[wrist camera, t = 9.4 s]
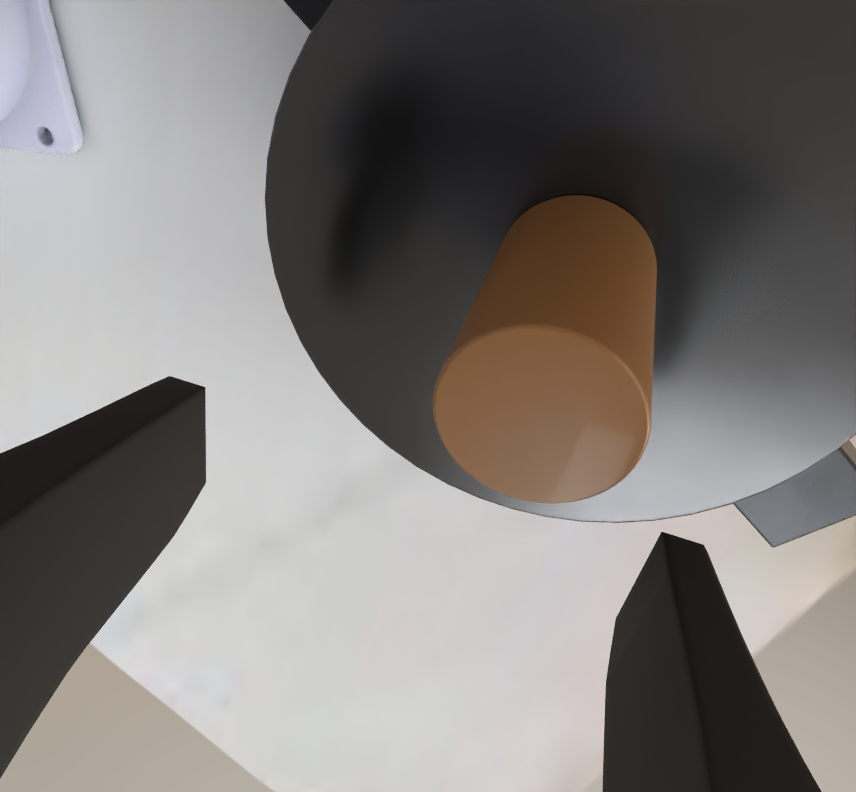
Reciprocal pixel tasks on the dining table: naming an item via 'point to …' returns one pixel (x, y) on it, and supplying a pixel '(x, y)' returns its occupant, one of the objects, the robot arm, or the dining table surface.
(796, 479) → the pot
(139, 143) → the dining table surface
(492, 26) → the lid
